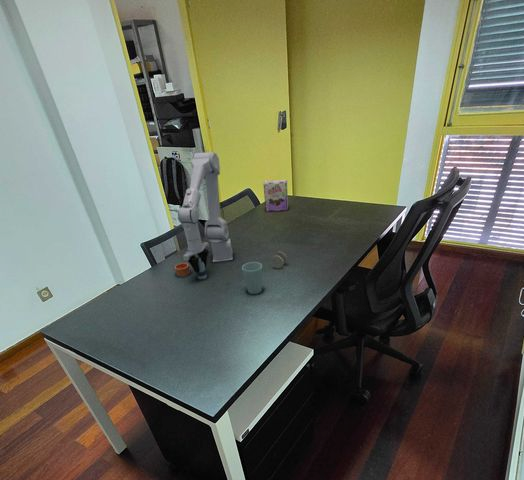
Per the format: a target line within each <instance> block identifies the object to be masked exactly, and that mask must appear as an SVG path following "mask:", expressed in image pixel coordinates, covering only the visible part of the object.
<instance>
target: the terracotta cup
mask: <svg viewBox="0 0 524 480" xmlns="http://www.w3.org/2000/svg"><path fill="white" fill-rule="evenodd" d="M174 271H175V274H176V276H177V277H187V276H188V275H190V274H191V269H190V264H189V263H187V262H181V263H177V264H175V266H174Z"/></svg>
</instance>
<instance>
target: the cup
mask: <svg viewBox="0 0 524 480" xmlns="http://www.w3.org/2000/svg"><path fill="white" fill-rule="evenodd" d="M241 270H242V273H243V277H244V281H245V285H246V289H247V292H248V293H249V294H251V295H256V294H259V293H261V292H262V289H263V264H262V263H261V262H258V261H249V262H246V263H244V264H243V265H242V266H241Z"/></svg>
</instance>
